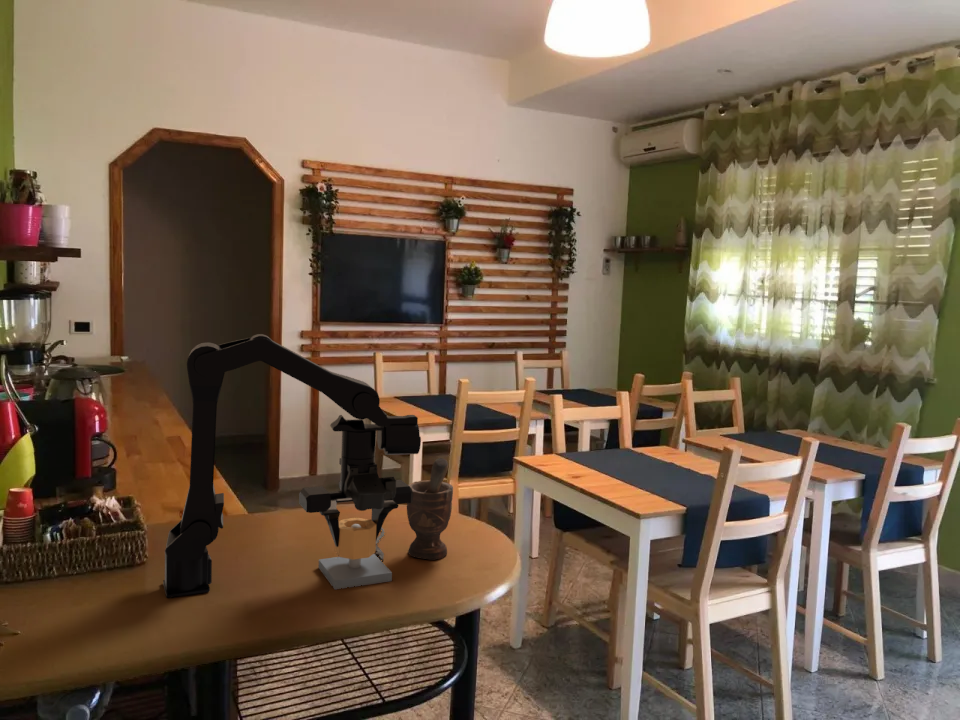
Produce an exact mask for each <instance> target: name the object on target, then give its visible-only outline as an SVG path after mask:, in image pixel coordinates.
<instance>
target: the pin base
mask: <svg viewBox="0 0 960 720" xmlns="http://www.w3.org/2000/svg"><path fill="white" fill-rule="evenodd" d="M351 528H361V526H360V525H359V524H353V525H352V526H351ZM318 569H319V571H320V572H321V573H322V575H323V576H324V577H325V578H326V579H327V581H328V582H329V584H330V585H331V587H332V586H333V587H332V588H333V589H334V590H342V589H346V588H347V587H349V588H355V587H361V585H362V586H368V585H374V584H381V583H382V584H383V583H386V582H392V580H393V572H392V570H390V569H389V567H387V566H386V565H385V564H384V562H382V561H381V560H380V559H379V557H377V556H376V553H374V554H373V555H371V556H370V557H369V558H362V559H354V560H353V559H348V558H342V557H339V556H335V557H328V558H320V559H318ZM354 586H355V587H354ZM341 588H342V589H341ZM347 589H348V588H347Z"/></svg>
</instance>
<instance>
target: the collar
mask: <svg viewBox="0 0 960 720" xmlns="http://www.w3.org/2000/svg"><path fill="white" fill-rule="evenodd" d="M353 524H359V525H360V526H361V528H351V526H352V525H353ZM375 551H376V524H375V523H374V522H373V521H372V520H371V519H369V518H368V519H367V518H361V517H351V518H343V519H341V520H339V546H338V547H336V546H335V545H334V552H335V553H336V555H337V557H342V558H348V559H353V560H354V559H362V558H369V557H370V556H371V555H373V554H376V553H375Z"/></svg>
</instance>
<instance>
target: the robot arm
mask: <svg viewBox="0 0 960 720" xmlns="http://www.w3.org/2000/svg"><path fill="white" fill-rule="evenodd" d="M256 362H262V363H265V364H266V365H268V366H271V367H272V368H274V369H276V370H278V371H280V372H282V373H283V374H286V375H288V376H290V377H291V378H293V379H294V380H295V379H296V380H297V381H299V382H301V383H303V384H305V385H307V386H308V387H311V388H313V389H315V390H317V392H321V393H322V394H323V395H325V396H326V397H327V398H328V399H330V400H331V401H332V402H333V403H335V404H336V405H337V406H339V407H340V408H341V409H342V410H343V411H345V412H346V413H347V414H349V415H350V416H352V418H354V419H346V418H344V416H343V415H342V414H339V416H338V417H337V418H336V420H334V421H333V422H331V423H330V428H331V430H332V431H333V432H341V452H340V453H341V456H340V457H339V465H340V481H338V488H339V489H340V490H337V491H336V490H335V491H328V490H327V489H326V488H325V487H324V486H323V485H321V486H310V487H302V489H301V490H300V491H299V494H298V495H299V496H298V504H299V505H300V506H301V507H302V508H303V510H304V511H305V512H306V513H309V514H312V513H313V514H314V513H319V514H320V515H321V516H323V517H324V519H325V520H326V523H327V525H328V528H329V531H330V534H331V538H332V540H333V543H334V547H335V546H336V547H338V546H339V521H340V520H339V518H340V514H341V511H340V510H339V509H338V508H337V503H347V502H353V505H354V508H355V509H356V510H357V511H361V512H364V511H367V510H371V519H370V520H372V521H373V522H374V523H375V524H376V540H377V537H378V536H380V533H381V527H382V528H383V525H384V522H385V521H386V518H387V516H388V515H389V514H390V513H391V511H392V510H394V509H398V508H399V505H404V504H407V503H411V502H413V491H412V488H411V487H410V486H409V484H407V483H406V482H404V481H403V480H402V479H396V478H395V477H394V476H388V477H387V476H386V477H379V473H378V464H377V463H376V444H377V447H378V449H379V450H383V453H384V455H385V456H392V455H395V456H396V455H398V456H399V455H418V454H419V453H420V450H421V443H422V442H421V441H422V438H421V436H420V435H421V434H420V428H419V422H418V420H419V418H418V416H417V415H415V414H406V415H388V414H387V413H386V412H385V411H384V410H383V409H382V408H381V407H380V402H381V401H380V396H379V394H378V392H377V390H375V389H374V388H373V387H372V386H371V385H370V384H368V383H367V382H366V381H363V380H360V379H356V378H355V377H351V376H348V375H344V374H340V373H336V372H333V371H330V370H328V369H327V368H326V367H323V366H321V365H319V364H317V363H315V362H313V361H311V360H310V359H308V358H306V357H305V356H302V355H301V354H298V353H296V352H295V351H293V350H291V349H289V348H287V347H286V346H284V345H282V344H280V343H278V342H276V341H275V340H272V338H270V337H269V336H268V335H266V334H263V333H260V334H259V333H258V334H254V335H252V336H250V337H245V338H242V339H237V340H232V341H229V342H228V341H227V342H224V343H221V344H216V343H214V342H202V343H199V344H197V345H195V346H194V347H193V348H192V349H191V350H190V352H189V355H188V357H187V361H186V370H187V376H188V377H187V378H188V382H189V390H190V394H191V400H192V423H191V425H192V426H191V443H190V444H191V445H190V447H191V448H190V471H189V486H188V487H189V488H188V491H187V495H186V498H185V503H184V508H183V512H182V516H181V520H180V521H179V522H178V523H176V525H174V526H173V527H172V528H171V529H170V530H169V532H168V534H167V535H168V536H167V539H166V544H165V545H166V546H165V549H164V579H163V580H162V582H163V583H162V584H163V588H164V593H165V598H173V597H175V598H176V597H182V596H183V597H184V596H188V595H195V594H202V593H210V589H211V588H210V584H212V581H213V580H212V579H213V578H212V576H213V575H212V574H213V573H212V572H213V571H212V569H213V568H212V567H213V561H212V558H211V555H210V554H209V550H208V548H207V546H209V545H210V544H212V543H213V542H215V540H216V539H217V537H218V536H219V535H218V534H219V531H220V530H219V529H221V530H222V529H224V514H223V510H224V506H225V493H224V492H222V493H221V492H220V493H216V489H215V485H214V478H215V477H214V475H215V474H214V473H215V455H216V454H215V452H216V434H217V433H216V428H217V409H218V408H217V405H218V402H219V397H220V394H221V390H222V387H223V381H224V377H225V373H227V372H230V371H233V370H236V369H239V368H240V369H241V368H242V367H245V366H248V365H250V364H251V365H252V364H253V363H256ZM366 419H367V420H369V421H370V422H371V424H369V423H365V422H364V420H366ZM376 440H377V442H376Z"/></svg>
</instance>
